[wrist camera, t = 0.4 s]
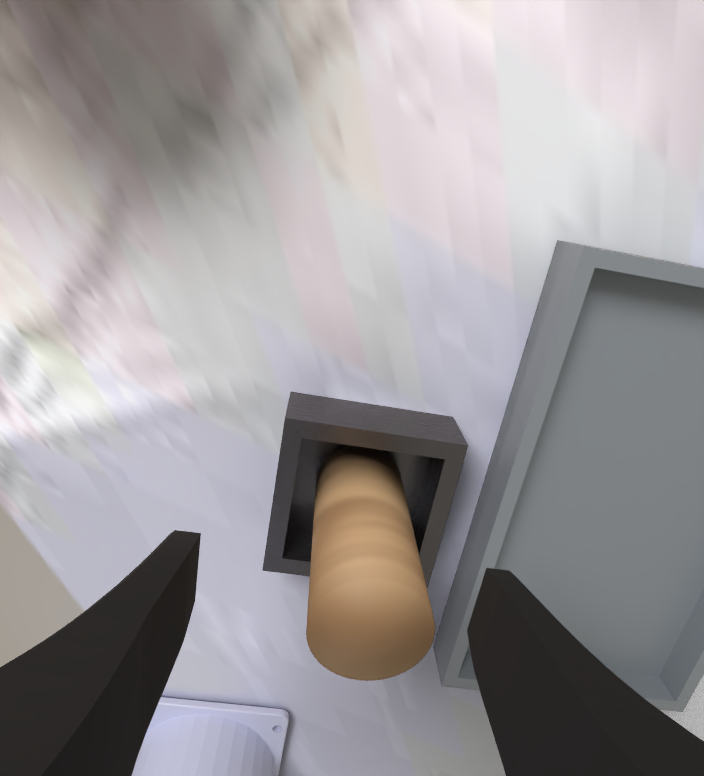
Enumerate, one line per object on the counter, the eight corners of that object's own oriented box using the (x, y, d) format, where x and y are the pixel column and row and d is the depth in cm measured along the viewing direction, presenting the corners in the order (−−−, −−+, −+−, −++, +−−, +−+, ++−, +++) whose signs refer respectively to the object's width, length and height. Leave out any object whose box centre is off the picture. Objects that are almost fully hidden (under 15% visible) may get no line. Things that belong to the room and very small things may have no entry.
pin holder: (417, 550, 24) (426, 590, 22) (270, 531, 24) (262, 570, 21) (453, 417, 22) (467, 445, 19) (290, 391, 21) (285, 417, 19)
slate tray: (656, 672, 27) (682, 711, 25) (433, 647, 26) (441, 685, 24) (848, 295, 21) (905, 307, 18) (557, 240, 19) (583, 246, 17)
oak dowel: (391, 524, 23) (419, 686, 15) (309, 513, 23) (297, 673, 15) (409, 452, 22) (448, 589, 14) (323, 439, 21) (316, 572, 14)
